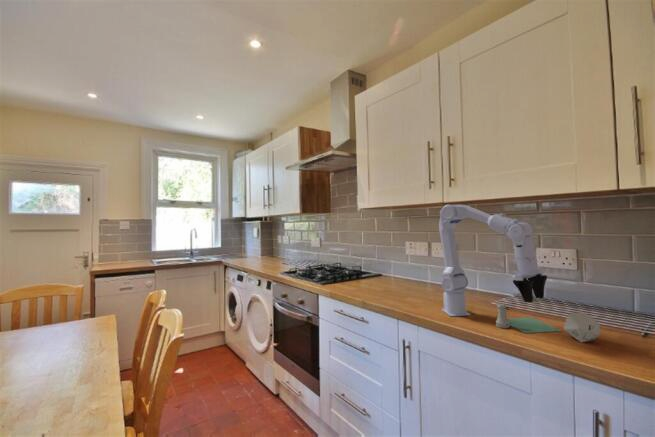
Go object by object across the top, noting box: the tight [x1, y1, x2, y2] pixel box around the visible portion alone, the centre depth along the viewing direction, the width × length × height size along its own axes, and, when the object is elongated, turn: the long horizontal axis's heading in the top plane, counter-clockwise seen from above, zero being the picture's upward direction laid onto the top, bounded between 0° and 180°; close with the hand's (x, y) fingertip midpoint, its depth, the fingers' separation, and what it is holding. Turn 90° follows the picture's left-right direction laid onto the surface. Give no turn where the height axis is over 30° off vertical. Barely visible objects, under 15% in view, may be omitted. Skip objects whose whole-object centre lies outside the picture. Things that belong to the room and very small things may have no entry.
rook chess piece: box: [495, 302, 511, 329], centre depth 106 cm, size 4×4×8 cm
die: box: [563, 311, 601, 343], centre depth 92 cm, size 8×9×10 cm
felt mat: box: [507, 317, 562, 334], centre depth 106 cm, size 14×12×1 cm
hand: (534, 299), depth 99 cm, fingers open, 7 cm apart
